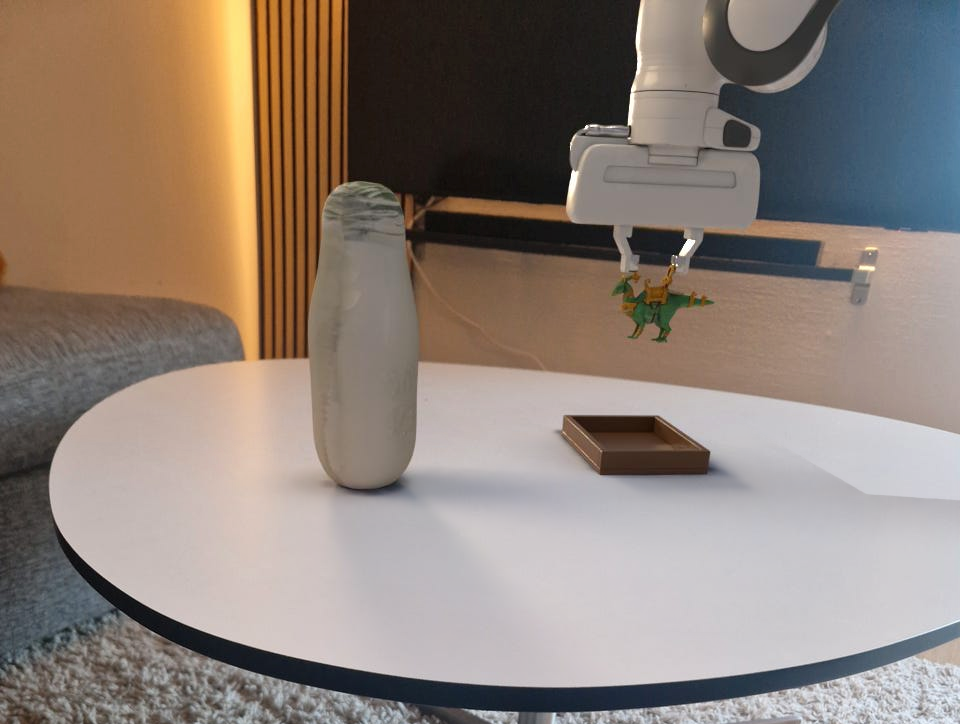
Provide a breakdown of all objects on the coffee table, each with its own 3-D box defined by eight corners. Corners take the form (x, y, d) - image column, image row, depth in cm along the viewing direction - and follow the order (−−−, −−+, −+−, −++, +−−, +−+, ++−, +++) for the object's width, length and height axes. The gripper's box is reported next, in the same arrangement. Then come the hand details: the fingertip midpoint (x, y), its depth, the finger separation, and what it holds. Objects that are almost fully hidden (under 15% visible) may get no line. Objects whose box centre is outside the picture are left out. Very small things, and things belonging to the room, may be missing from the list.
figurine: (600, 335, 104) (612, 257, 101) (701, 345, 106) (715, 269, 103) (608, 337, 101) (620, 257, 98) (711, 348, 103) (726, 270, 100)
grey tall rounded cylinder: (393, 506, 89) (393, 182, 77) (298, 492, 92) (283, 177, 80) (430, 479, 98) (435, 184, 85) (341, 467, 100) (334, 180, 88)
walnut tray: (707, 473, 104) (710, 451, 103) (599, 474, 102) (601, 451, 101) (656, 435, 120) (658, 415, 119) (561, 435, 118) (563, 414, 117)
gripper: (580, 120, 90) (568, 272, 96) (776, 132, 94) (753, 278, 100) (564, 124, 96) (554, 267, 102) (750, 134, 99) (729, 272, 105)
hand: (654, 273), depth 101 cm, fingers closed on figurine, 4 cm apart
